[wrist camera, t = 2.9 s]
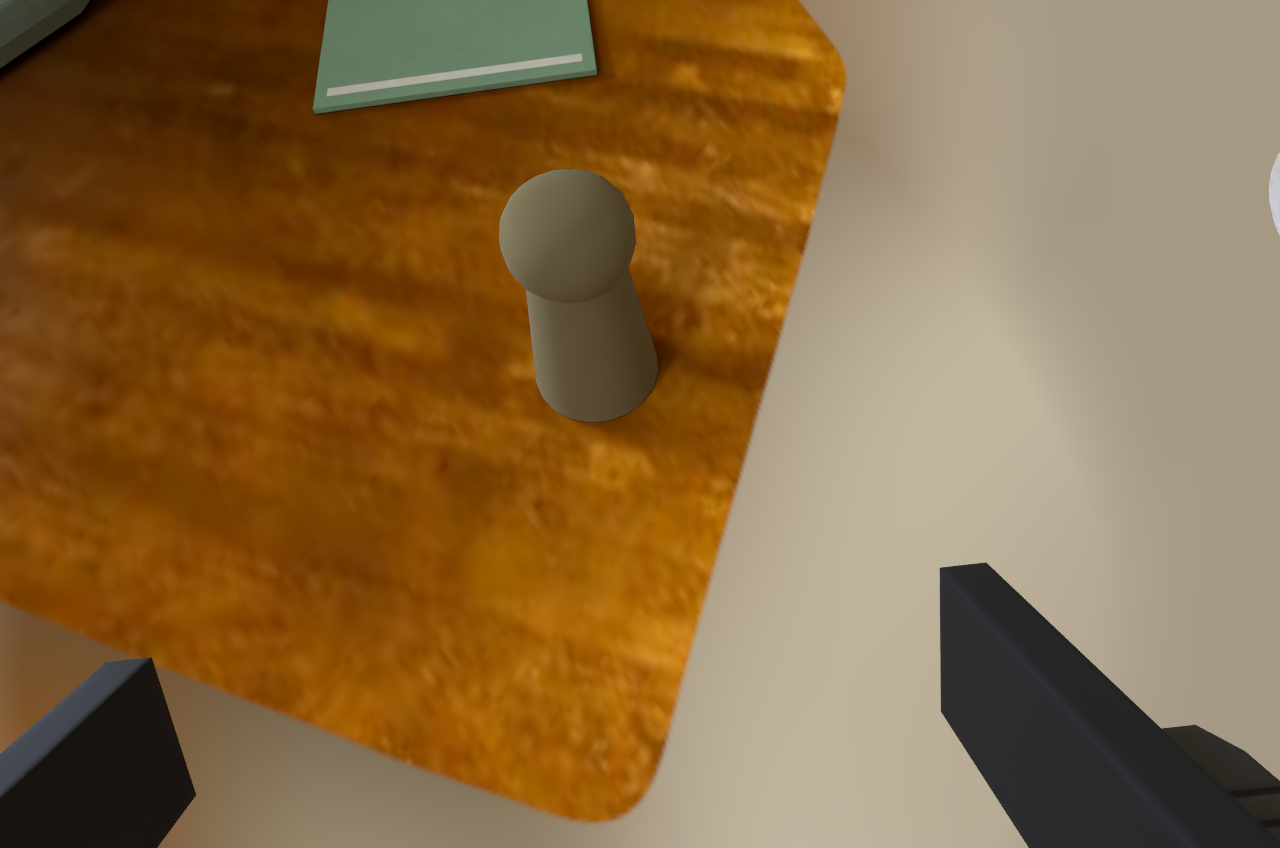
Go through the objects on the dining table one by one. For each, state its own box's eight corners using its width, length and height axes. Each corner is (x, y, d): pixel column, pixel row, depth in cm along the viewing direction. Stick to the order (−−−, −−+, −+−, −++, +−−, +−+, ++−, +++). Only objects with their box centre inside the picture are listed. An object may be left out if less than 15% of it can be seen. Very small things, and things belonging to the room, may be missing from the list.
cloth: (582, -34, 54) (581, -40, 53) (597, 75, 48) (596, 69, 47) (331, 1, 54) (328, -4, 53) (315, 114, 48) (312, 108, 47)
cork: (572, 444, 35) (523, 293, 25) (514, 354, 38) (451, 187, 28) (682, 382, 36) (676, 216, 27) (618, 299, 39) (592, 121, 29)
